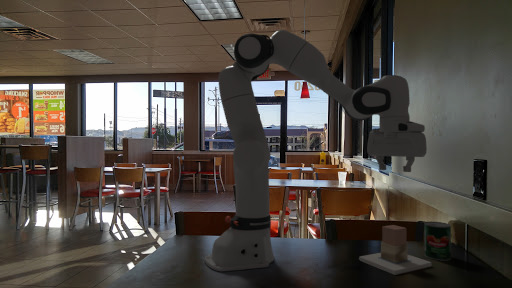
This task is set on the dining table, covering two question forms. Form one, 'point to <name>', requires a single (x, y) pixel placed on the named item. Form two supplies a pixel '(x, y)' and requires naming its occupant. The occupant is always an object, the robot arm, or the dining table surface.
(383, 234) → the terracotta block
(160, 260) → the dining table surface
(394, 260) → the birch block
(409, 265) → the white flat square slab
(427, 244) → the canned tomato
